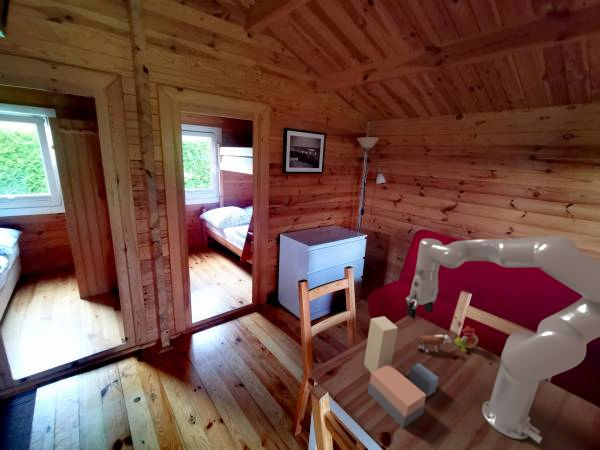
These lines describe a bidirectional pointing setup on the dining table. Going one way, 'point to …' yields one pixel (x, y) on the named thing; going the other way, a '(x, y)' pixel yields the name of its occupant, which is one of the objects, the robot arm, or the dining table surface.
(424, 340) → the bull figurine
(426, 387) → the slate brick
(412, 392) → the pink and grey block
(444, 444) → the dining table surface
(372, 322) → the toy refrigerator
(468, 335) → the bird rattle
